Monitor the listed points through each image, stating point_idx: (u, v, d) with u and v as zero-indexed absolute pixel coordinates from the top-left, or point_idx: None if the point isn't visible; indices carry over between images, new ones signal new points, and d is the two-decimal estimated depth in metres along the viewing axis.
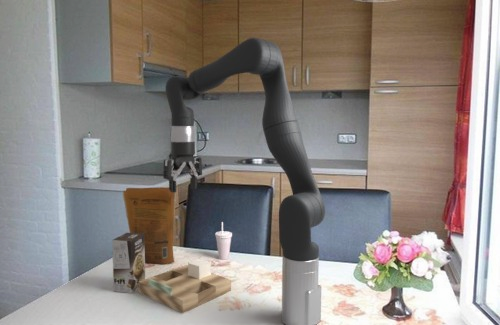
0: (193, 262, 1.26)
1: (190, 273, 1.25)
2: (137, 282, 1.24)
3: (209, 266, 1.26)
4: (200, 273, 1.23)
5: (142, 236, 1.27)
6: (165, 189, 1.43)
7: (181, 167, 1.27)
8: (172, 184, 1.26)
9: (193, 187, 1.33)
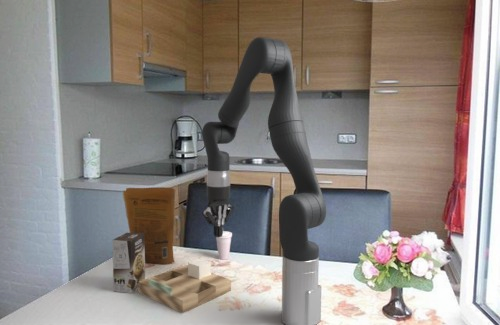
0: (193, 262, 1.26)
1: (190, 273, 1.25)
2: (137, 282, 1.24)
3: (209, 266, 1.26)
4: (200, 273, 1.23)
5: (142, 236, 1.27)
6: (165, 189, 1.43)
7: (219, 212, 1.29)
8: (217, 229, 1.30)
9: None
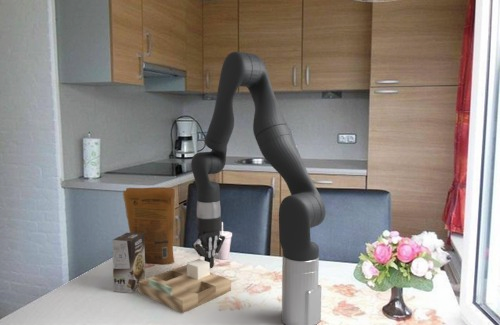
0: (192, 262, 1.26)
1: (189, 273, 1.25)
2: (137, 282, 1.24)
3: (208, 266, 1.26)
4: (198, 274, 1.23)
5: (142, 236, 1.27)
6: (165, 189, 1.43)
7: (209, 243, 1.26)
8: (207, 261, 1.28)
9: (210, 266, 1.29)
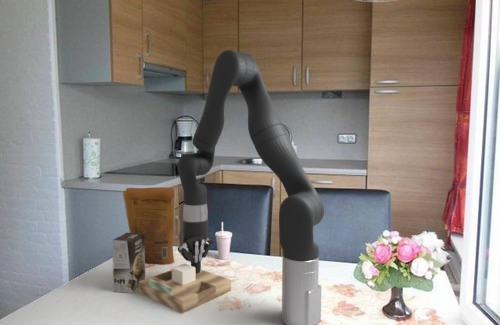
0: (177, 267, 1.21)
1: (174, 278, 1.21)
2: (137, 282, 1.24)
3: (194, 272, 1.21)
4: (183, 279, 1.18)
5: (142, 236, 1.27)
6: (165, 189, 1.43)
7: (196, 247, 1.22)
8: (194, 266, 1.24)
9: None
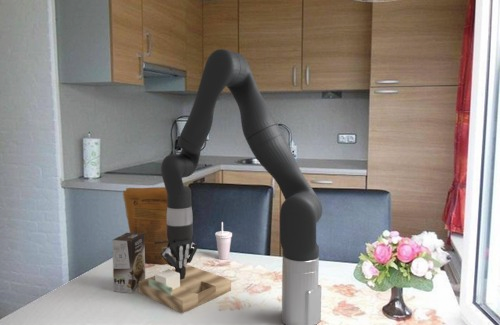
0: (160, 273, 1.17)
1: None
2: (137, 282, 1.24)
3: (178, 278, 1.17)
4: None
5: (142, 236, 1.27)
6: (165, 189, 1.43)
7: (180, 252, 1.18)
8: (178, 271, 1.19)
9: None
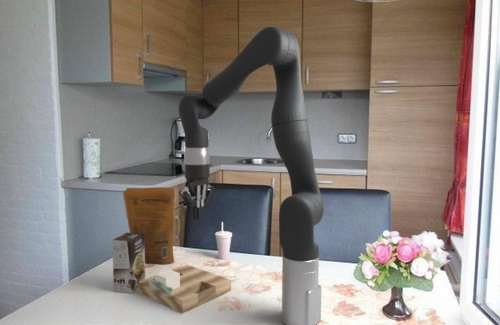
0: (160, 273, 1.17)
1: None
2: (137, 282, 1.24)
3: (178, 278, 1.17)
4: None
5: (142, 236, 1.27)
6: (165, 189, 1.43)
7: (198, 192, 1.20)
8: (196, 211, 1.22)
9: None
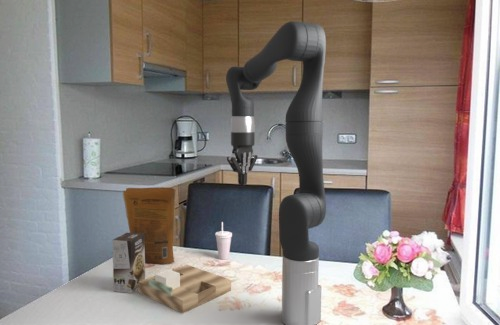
0: (160, 273, 1.17)
1: None
2: (137, 282, 1.24)
3: (178, 278, 1.17)
4: None
5: (142, 236, 1.27)
6: (165, 189, 1.43)
7: (244, 159, 1.27)
8: (241, 177, 1.29)
9: None
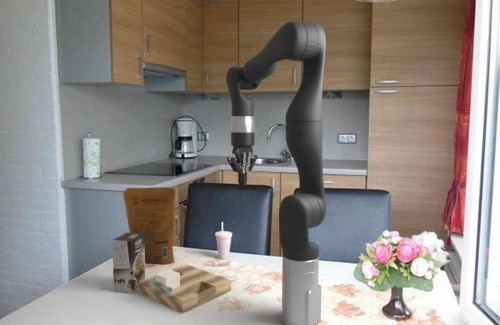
0: (160, 273, 1.17)
1: None
2: (137, 282, 1.24)
3: (178, 278, 1.17)
4: None
5: (142, 236, 1.27)
6: (165, 189, 1.43)
7: (244, 159, 1.27)
8: (241, 177, 1.29)
9: None
